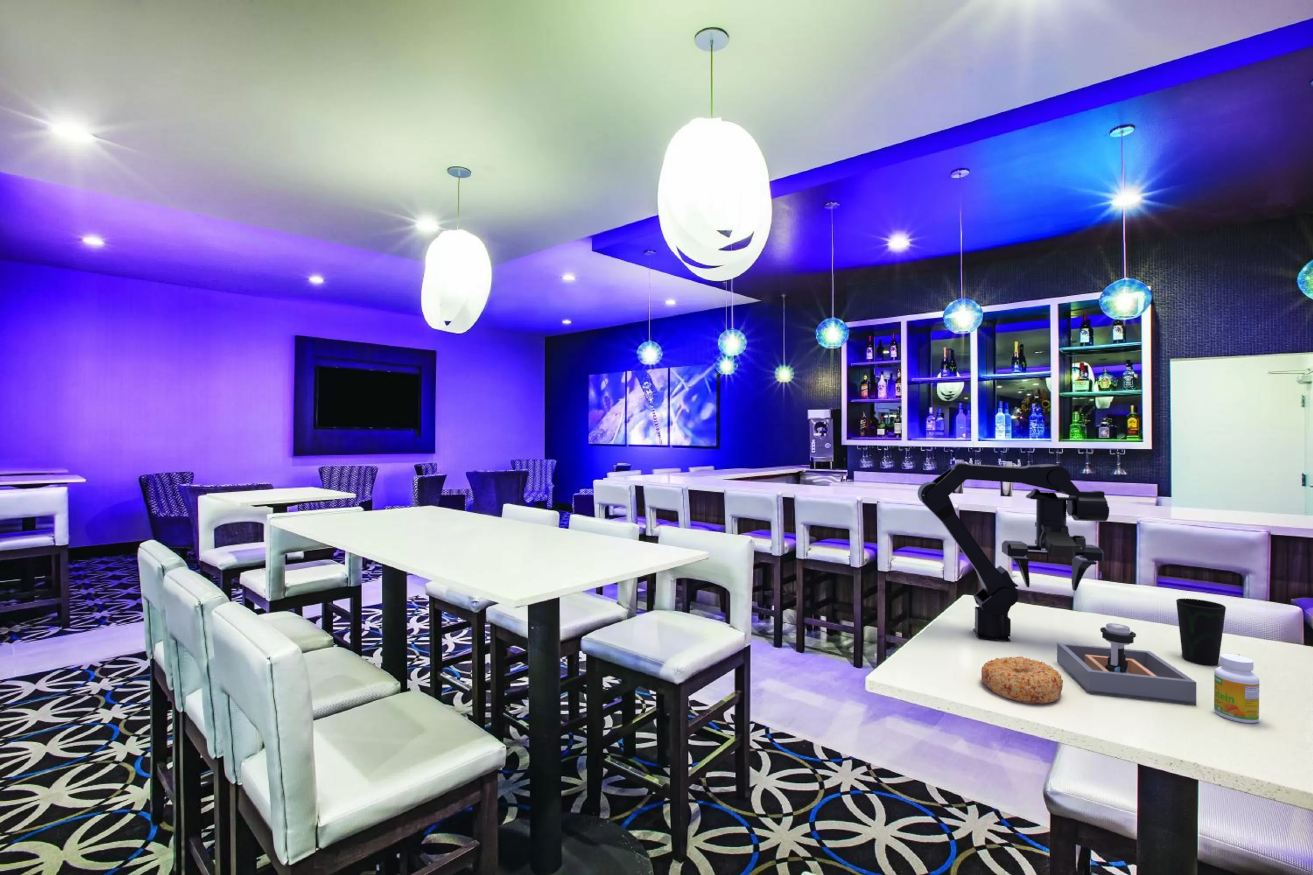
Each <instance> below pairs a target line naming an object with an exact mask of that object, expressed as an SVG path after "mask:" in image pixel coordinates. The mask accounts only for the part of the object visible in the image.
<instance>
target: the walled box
mask: <svg viewBox="0 0 1313 875" xmlns="http://www.w3.org/2000/svg"><path fill="white" fill-rule="evenodd" d="M1110 653H1111V646H1110V647H1109V646H1098V645H1085V644H1076V643H1067V642H1066V643H1064V642H1057V643H1056V663H1057V664H1058V665H1059V666H1060V667H1061V668H1062V669H1063V670H1064V671H1065V672H1066V673H1067V674H1068V675H1069V676H1070V677H1071V678H1072V679H1073V680H1074V681H1075V682H1076V683H1077V684H1078V685H1079V686H1080V687H1081V688H1082V689H1083V690H1084V691H1085V692H1086V693H1087V694H1088V695H1097V696H1098V695H1099V696H1108V697H1115V698H1124V699H1125V698H1126V699H1135V700H1144V701H1152V702H1162V703H1171V704H1177V705H1178V704H1179V705H1180V704H1181V705H1189V706H1197V682H1196V681H1195V680H1193V679H1192V678H1191V677H1189V676H1188V675H1187V674H1185V673H1183V672H1182V671H1181V670H1179V669H1177V668H1176V667H1175V666H1174V665H1172V664H1170V663H1168V662H1167V661H1165V660H1164V659H1162V658H1161V657H1159V656H1158V655H1156V654H1155V653H1153V652H1152V651H1150V650H1142V649H1130V648H1124V654H1125V655H1126V661H1128V673H1118V672H1109V671H1108V670H1107V669H1106V668H1105V665H1107V664H1108V663H1107V661H1108V657H1110Z"/></svg>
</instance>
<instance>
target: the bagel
mask: <svg viewBox="0 0 1313 875" xmlns="http://www.w3.org/2000/svg"><path fill="white" fill-rule="evenodd" d="M981 680H982V682H983V684H984V686H986V687H987V688H988V689H989V690H990V691H992V692H993V693H994V694H997V695H999V696H1001V697H1003V698H1005V699H1009V700H1013V701H1015V702H1018V703H1024V704H1029V705H1032V704H1033V705H1034V704H1037V705H1038V704H1039V705H1040V704H1043V705H1044V704H1050V703H1053V702H1056V701H1058V700H1059V699H1060V697H1061V694H1062V690H1063V686H1064V685H1063V684H1064V680H1063V679H1062V675H1061V674H1060V673H1059V671H1058V670H1056V669H1054V667H1053V666H1051V665H1048V664H1047V663H1045V662H1043V661H1040V660H1037V659H1030V658H1027V657H1024V656H1015V657H1014V656H1013V657H1012V656H1009V657H1000V658H998V657H996V658H995V659H991V660H988V661H987V662H985V663H984V664H983V666H981Z"/></svg>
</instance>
